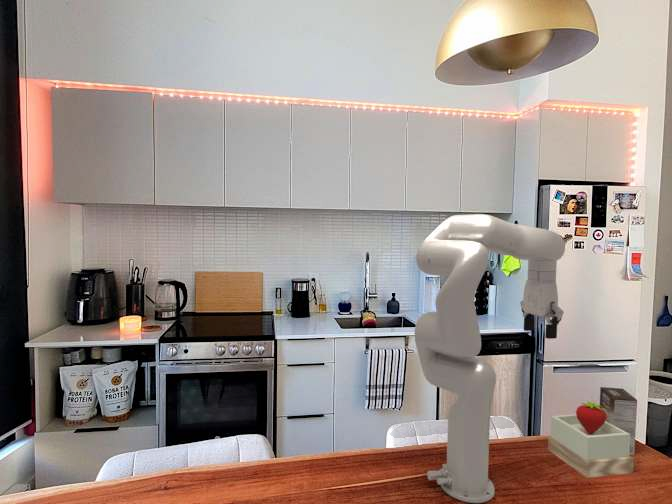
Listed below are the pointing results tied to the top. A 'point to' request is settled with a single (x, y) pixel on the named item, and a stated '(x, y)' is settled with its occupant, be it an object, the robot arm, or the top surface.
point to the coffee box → (620, 411)
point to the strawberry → (591, 416)
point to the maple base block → (591, 462)
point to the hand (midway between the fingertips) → (539, 334)
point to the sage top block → (590, 438)
